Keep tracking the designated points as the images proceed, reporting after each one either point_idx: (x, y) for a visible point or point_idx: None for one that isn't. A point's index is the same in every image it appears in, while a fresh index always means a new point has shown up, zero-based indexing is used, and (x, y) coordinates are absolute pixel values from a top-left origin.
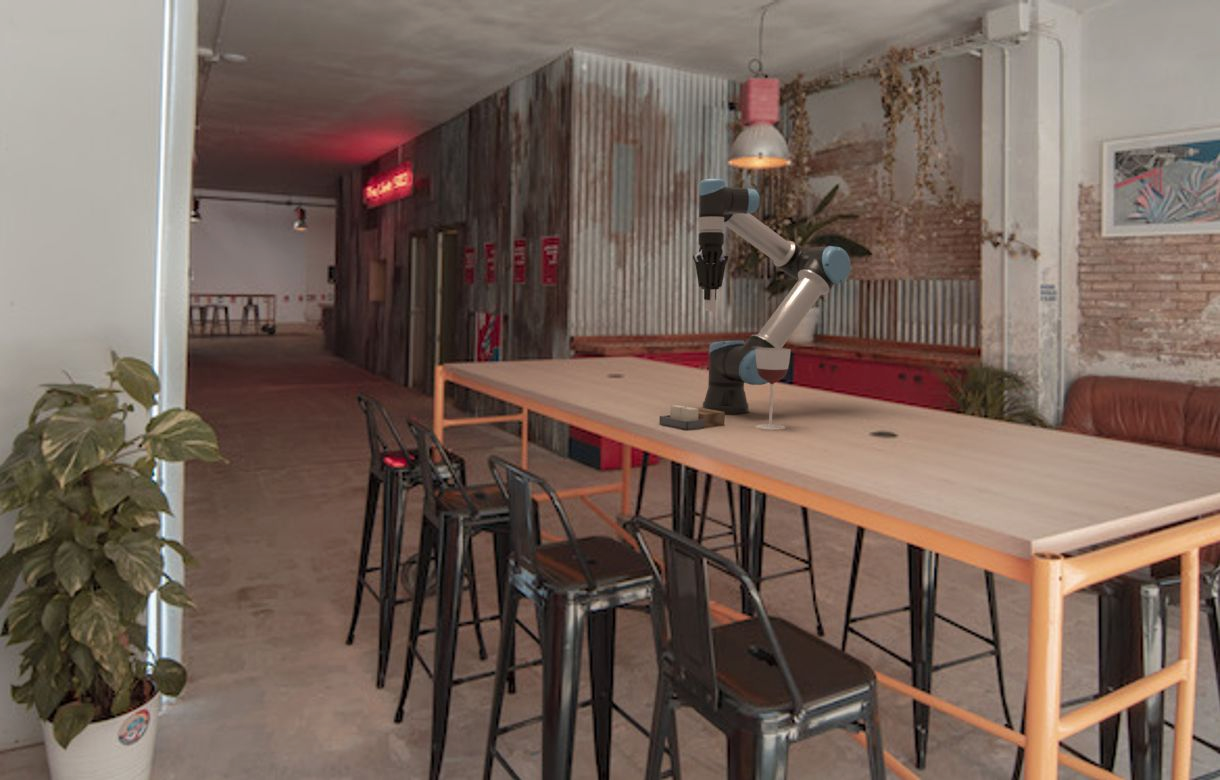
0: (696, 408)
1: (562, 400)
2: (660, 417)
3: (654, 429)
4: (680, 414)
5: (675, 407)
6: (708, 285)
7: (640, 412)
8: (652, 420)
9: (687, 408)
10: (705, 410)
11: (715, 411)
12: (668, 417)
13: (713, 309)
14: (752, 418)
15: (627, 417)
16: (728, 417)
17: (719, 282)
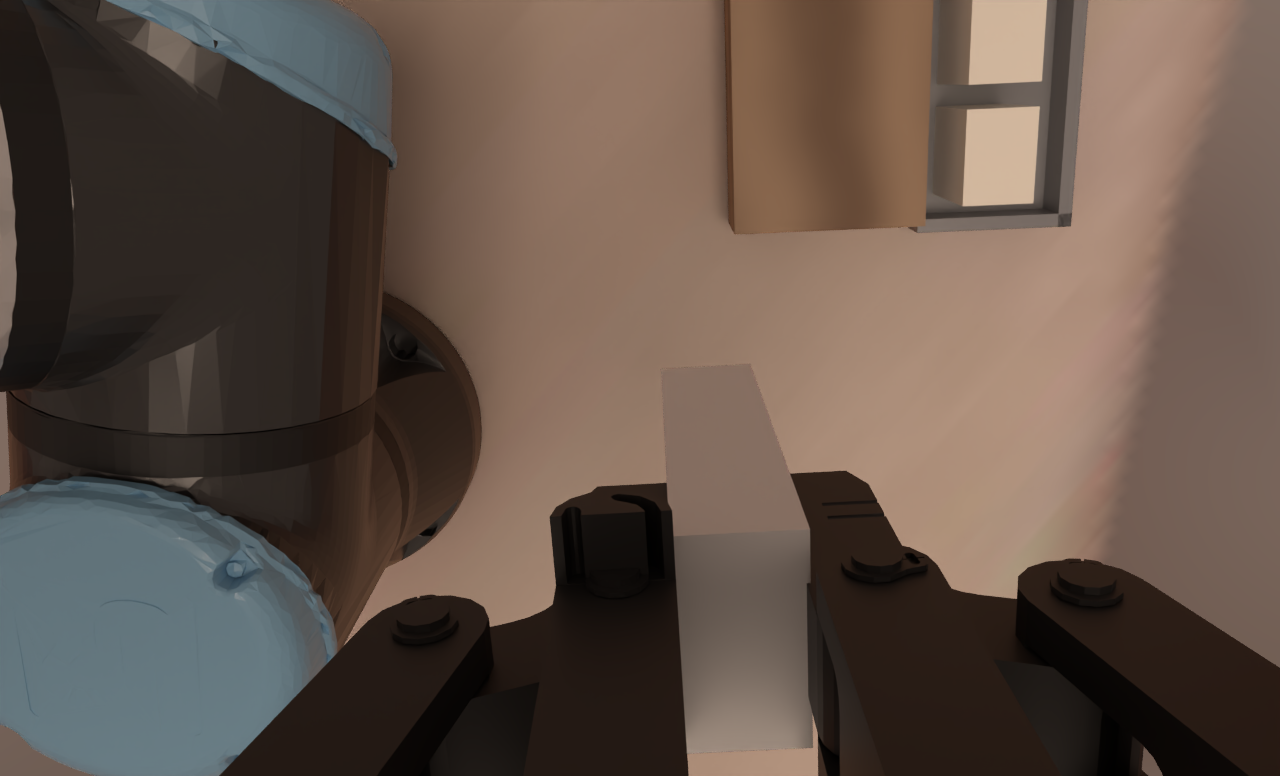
0: (784, 207)
1: None
2: (1067, 216)
3: (1195, 97)
4: (1011, 105)
5: (1034, 149)
6: (949, 598)
7: None
8: (971, 368)
9: (1023, 41)
10: (795, 101)
11: (768, 27)
12: (1067, 148)
13: (696, 375)
14: None
15: (1017, 525)
16: (485, 217)
17: (453, 670)
